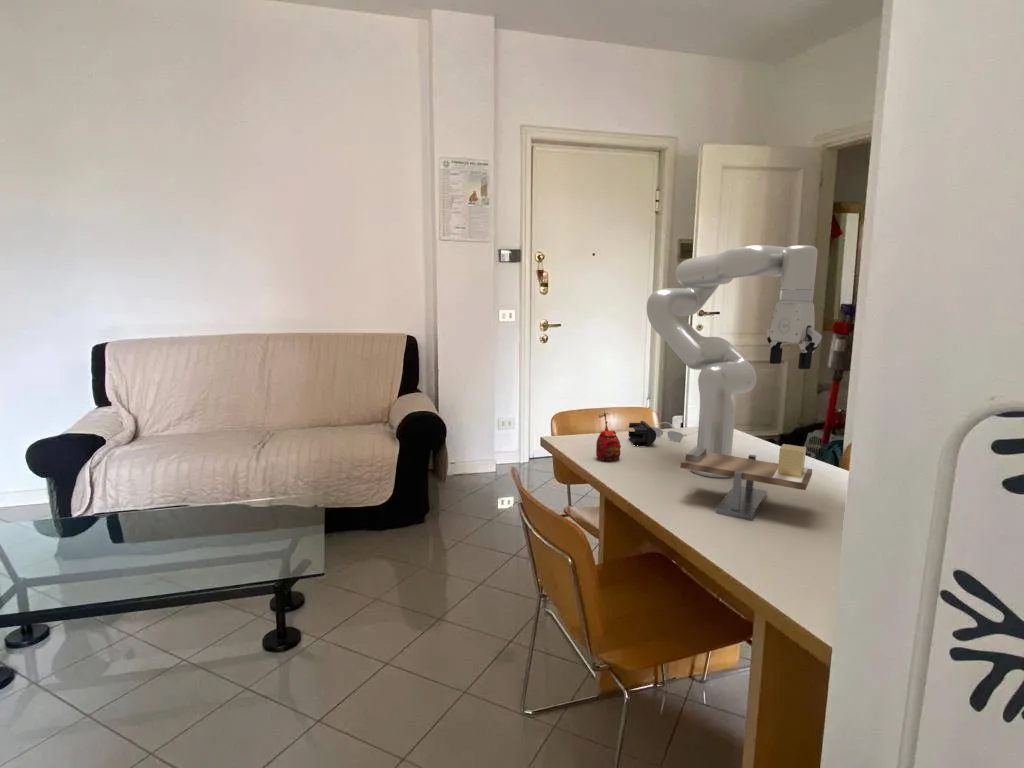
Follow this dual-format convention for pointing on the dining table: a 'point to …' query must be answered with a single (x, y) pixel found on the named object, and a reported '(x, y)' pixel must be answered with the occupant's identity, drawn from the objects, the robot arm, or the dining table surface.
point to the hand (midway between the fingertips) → (789, 366)
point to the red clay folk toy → (607, 444)
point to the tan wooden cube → (791, 460)
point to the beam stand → (742, 498)
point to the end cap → (641, 434)
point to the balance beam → (743, 468)
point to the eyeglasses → (669, 433)
